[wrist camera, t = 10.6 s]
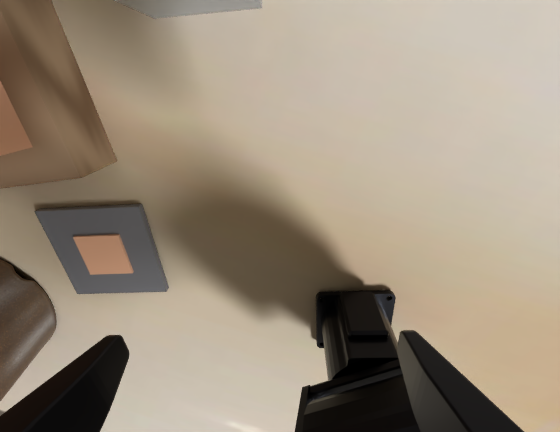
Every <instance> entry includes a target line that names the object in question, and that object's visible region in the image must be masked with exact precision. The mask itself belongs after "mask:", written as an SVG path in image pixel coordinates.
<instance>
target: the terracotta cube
mask: <svg viewBox="0 0 560 432" xmlns="http://www.w3.org/2000/svg"><path fill="white" fill-rule="evenodd" d="M32 147H33V146H32V144H31V142H30V140H29V138H28V136H27V134H26V132H25V130H24V128H23V126H22V124H21V122H20V120H19V118H18V116H17V114H16V112H15V110H14V108H13V106H12V104H11V102H10V100H9V97H8V95H7V93H6V91H5V89H4V87H3V85H2V83H1V81H0V156H1V155H5V154H9V153H13V152H16V151H20V150H24V149H28V148H32Z"/></svg>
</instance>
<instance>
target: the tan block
mask: <svg viewBox="0 0 560 432" xmlns="http://www.w3.org/2000/svg"><path fill="white" fill-rule="evenodd" d="M0 81H1V83H2V85H3V87H4V89H5V91H6V93H7V95H8V97H9V100H10V102H11V104H12V106H13V108H14V110H15V112H16V114H17V116H18V118H19V120H20V122H21V124H22V126H23V128H24V130H25V132H26V134H27V136H28V138H29V140H30V142H31V144H32V146H33V147H32V148H28V149H24V150H20V151H16V152H13V153H9V154H5V155H1V156H0V188H7V187H15V186H22V185H30V184H38V183H45V182H53V181H60V180H68V179H76V178H82V177H84V176H86V175H88V174H90V173H93V172H95V171H97V170H99V169H101V168H103V167H105V166H108V165H110V164H112V163H114V162H116V161H117V159H116V157H115V154H114V152H113V149H112V147H111V144H110V142H109V140H108V137H107V135H106V132H105V130H104V127H103V125H102V123H101V120H100V118H99V115H98V113H97V110H96V108H95V106H94V103H93V101H92V98H91V96H90V93H89V91H88V89H87V86H86V84H85V81H84V79H83V76H82V74H81V72H80V69H79V67H78V64H77V62H76V59H75V57H74V55H73V52H72V50H71V47H70V45H69V42H68V40H67V38H66V35H65V33H64V30H63V28H62V25H61V23H60V21H59V18H58V16H57V13H56V11H55V8H54V6H53V4H52V1H51V0H0Z"/></svg>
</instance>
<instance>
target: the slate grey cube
mask: <svg viewBox="0 0 560 432" xmlns="http://www.w3.org/2000/svg"><path fill="white" fill-rule="evenodd" d="M114 1H116V2H118V3H120V4H123V5H125V6H127V7H129V8H132V9H134V10H136V11H138V12H141V13H143V14H145V15H147V16H150V17H152V18H154V19H157V18H167V17H177V16H187V15H198V14H208V13H218V12H228V11H239V10H249V9H259V8H262V0H114Z"/></svg>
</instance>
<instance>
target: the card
mask: <svg viewBox="0 0 560 432" xmlns="http://www.w3.org/2000/svg"><path fill="white" fill-rule="evenodd" d="M35 213H36V215H37V217H38V219H39V221H40V223H41V225H42V227H43V229H44V231H45V233H46V235H47V236H48V238H49V240H50V242H51V244H52V246H53V248H54V250H55V252H56V254H57V256H58V258H59V259H60V261H61V263H62V265H63V267H64V269H65V271H66V273H67V275H68V277H69V279H70V281H71V283H72V284H73V286H74V288H75V290H76V292H77V294H95V293H134V292H167V290H168V288H169V287H168V284H167V281H166V277H165V274H164V271H163V268H162V265H161V262H160V259H159V256H158V252H157V249H156V246H155V243H154V240H153V237H152V234H151V231H150V227H149V224H148V221H147V218H146V215H145V212H144V209H143V206H142V204H128V205H107V206H86V207H64V208H43V209H38V210H36V211H35Z"/></svg>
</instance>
